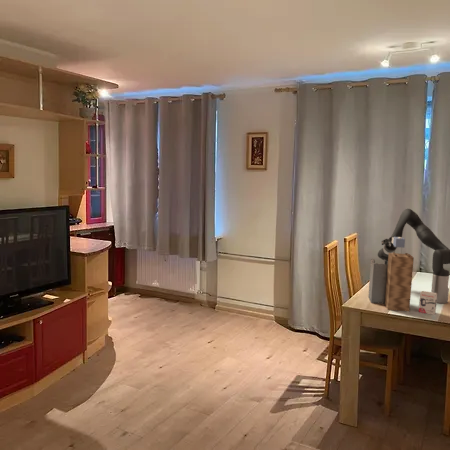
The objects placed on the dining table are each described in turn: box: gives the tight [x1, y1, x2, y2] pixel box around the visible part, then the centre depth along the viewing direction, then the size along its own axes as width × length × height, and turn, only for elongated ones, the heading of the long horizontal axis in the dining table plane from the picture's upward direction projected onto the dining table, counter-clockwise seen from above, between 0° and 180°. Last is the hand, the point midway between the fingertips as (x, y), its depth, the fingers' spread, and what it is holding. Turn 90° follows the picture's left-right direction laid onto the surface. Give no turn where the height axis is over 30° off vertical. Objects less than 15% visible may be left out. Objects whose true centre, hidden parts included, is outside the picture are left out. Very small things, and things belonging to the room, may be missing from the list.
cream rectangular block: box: [391, 236, 406, 248], centre depth 290 cm, size 5×22×6 cm, turn 170°
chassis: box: [367, 258, 388, 305], centre depth 293 cm, size 10×15×25 cm, turn 170°
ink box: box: [418, 290, 437, 316], centre depth 272 cm, size 8×5×12 cm, turn 56°
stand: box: [384, 251, 414, 312], centre depth 277 cm, size 12×11×33 cm
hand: (395, 238), depth 296 cm, fingers closed on cream rectangular block, 3 cm apart
